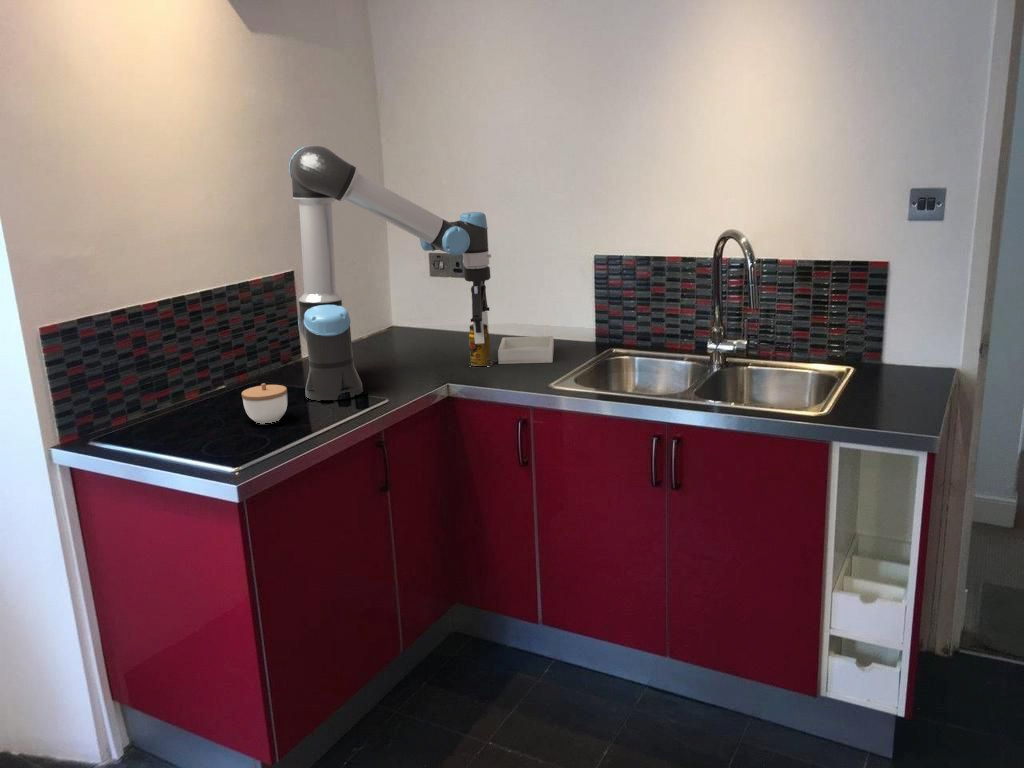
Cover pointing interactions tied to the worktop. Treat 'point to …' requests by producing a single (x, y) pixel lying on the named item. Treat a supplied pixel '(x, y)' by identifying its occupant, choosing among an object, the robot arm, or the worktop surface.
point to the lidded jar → (265, 402)
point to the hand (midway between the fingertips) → (482, 338)
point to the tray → (526, 350)
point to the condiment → (480, 349)
